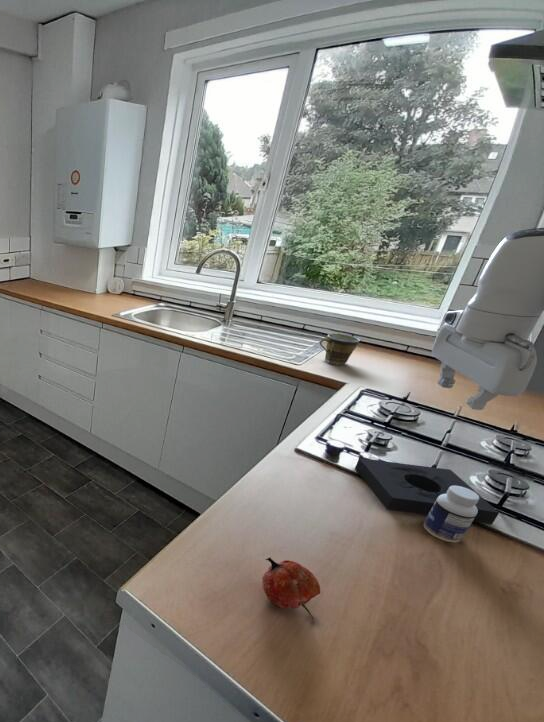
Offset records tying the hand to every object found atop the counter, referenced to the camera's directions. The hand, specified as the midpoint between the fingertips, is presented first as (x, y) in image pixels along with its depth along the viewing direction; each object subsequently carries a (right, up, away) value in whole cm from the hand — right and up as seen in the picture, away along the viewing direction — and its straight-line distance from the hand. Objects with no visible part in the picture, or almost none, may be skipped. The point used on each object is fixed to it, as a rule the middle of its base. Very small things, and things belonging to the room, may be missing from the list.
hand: (458, 396), depth 77 cm
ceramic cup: (+35, +11, +80) cm, 88 cm away
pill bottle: (-3, -26, +1) cm, 26 cm away
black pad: (+2, -21, +11) cm, 24 cm away
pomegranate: (-41, -32, -13) cm, 53 cm away
